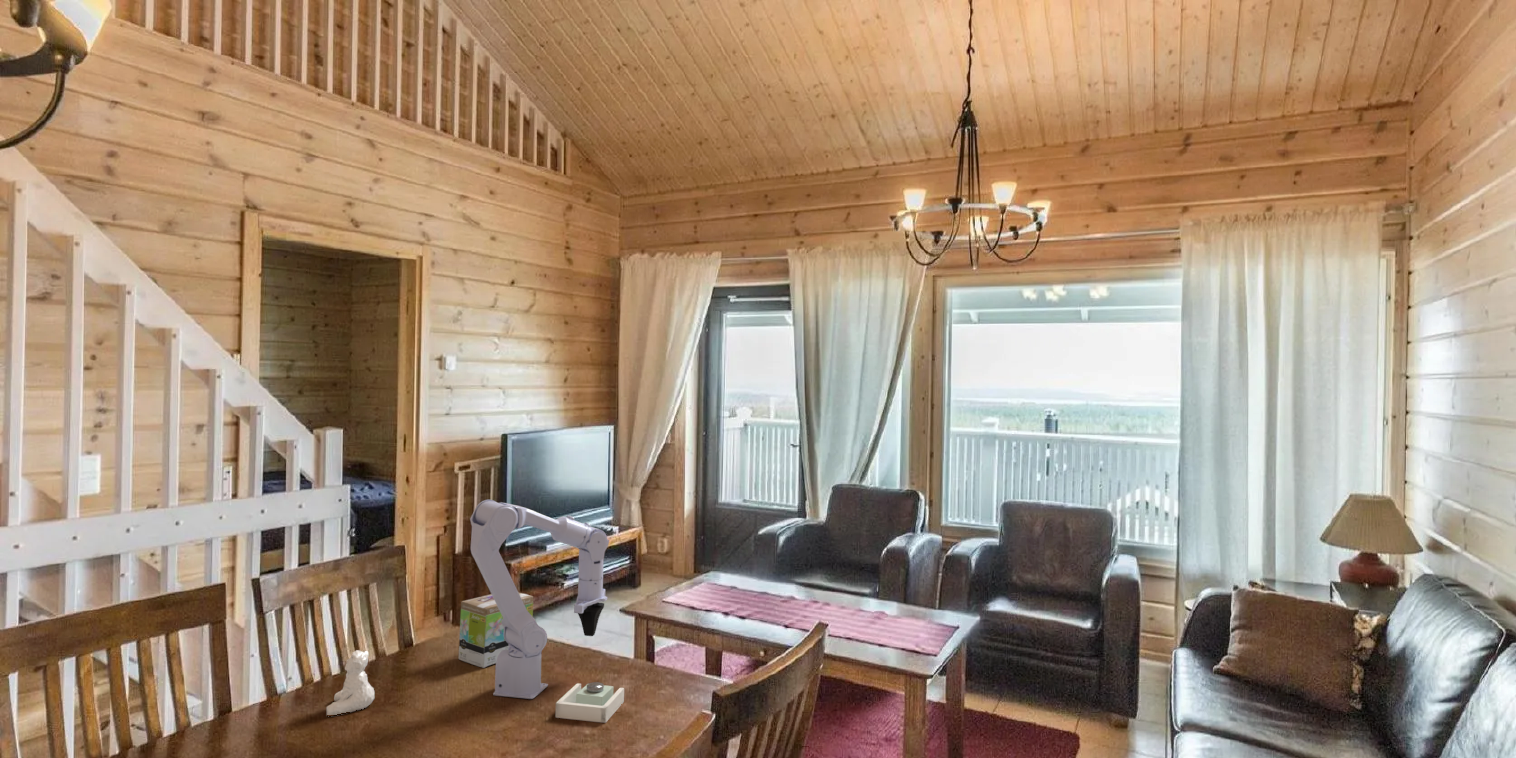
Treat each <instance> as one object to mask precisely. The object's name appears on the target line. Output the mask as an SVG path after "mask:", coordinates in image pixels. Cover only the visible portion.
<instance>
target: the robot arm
mask: <svg viewBox="0 0 1516 758" xmlns="http://www.w3.org/2000/svg"><path fill="white" fill-rule="evenodd" d="M469 520H470V525H471V534H470V535H471V537H470V538H471V540H470V553H471V556H472V557H473V559H474V561H475V563H476V565H477V568H478V569H479V572H480V573H481V576H482V578H483V580H484V582H485V584H486V586H487V587H488V590H489V593H490V594H492V596H493V598H494V600H495V602H496V604H497V606H498V608H499V610H500V612H501V614H502V616H503V619H502V621H501V623H502V625H503V628H504V639H505V641H506V642H507V643H508V644H509V648H508V650H503V651H501V652H500V654H499V655H498V658H497V661H496V663H495V672H494V673H495V675H494V676H495V677H494V678H495V679H494V691H493V693H492V694H493V696H497V697H505V698H506V697H507V698H508V697H509V698H518V699H526V700H527V699H528V700H533V699H535V698H536V697H537V696H538V695H540V694H541V693H542V692H543V691H544V690H545V689H546V688H547V687H548V686H549V684H548V683H543V682H542V651H543V650H544V648H545V647H546V646H547V642H548V634H547V631H546V630H545V628H543V627H541V626H540V625H539V624H538V623H537V621H536V619H535V618H534V616H533V617H532V615H531V614H530V613H529V612H528V611H527V609H526V607H525V605H524V603H523V601H522V599H521V597H520V595H519V593H520V592H519V591H518V589H517V586H516V584H515V583H514V581H513V578H512V576H511V574H510V572H509V570H508V568H507V566H506V564H505V561H504V559H503V557H502V555H501V554H500V548H501V546H502V544H503V543H504V542H505V541H506V540H507V538H509V536H510V535H511V534H512V532H513V531H514V530H515V528H517V529H520V528H522V527H524V526H525V525H526V526H529V527H532V528H535V529H538V530H542V531H545V532H548V533H550V535H551V538H552V540H553V541H556V542H559V543H562V544H565V545H566V546H571V547H573V548H576V549H578V579H577V581H578V585H577V586H578V588H577V589H578V590H577V597H576V600H575V601H576V602H575V603H574V605H573V613H574V614H577V615H578V616H579V620H580V621H581V622H580V623H581V627H582V630H583V631H582V632H583V635H584V636H585V637H593V636H595V634H596V631H597V626H598V623H599V618H600V616H601V613H602V611H603V609H604V608H605V603H604V602H606V601H607V600H608V596H606V588H604V558H605V553H606V550H607V548H608V547H609V543H610V540H609V539H608V536H607V534H606V533H605V531H604V530H602V529H599V528H596V527H593V526H591V524H590V523H588V522H584V523H583V522H580V521H577V520H576V519H575V517H574V516H571V515H567V516H560V517H558V518H555V519H554V518H552V517H549V516H547V515H544V514H542V513H539V512H537V511H535V510H532V509H530V508H527V507H523V506H521V505H516V504H512V503H507V502H502V501H500V502H497V501H495V500H493V499H485V500H481V502H479V503H478V504H477V505H476V506H475V508H474V510H473V513H472V514H471V515H470V518H469ZM518 592H519V593H518Z"/></svg>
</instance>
